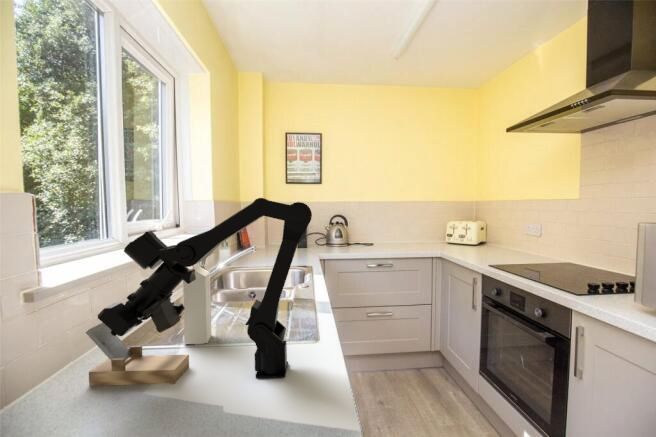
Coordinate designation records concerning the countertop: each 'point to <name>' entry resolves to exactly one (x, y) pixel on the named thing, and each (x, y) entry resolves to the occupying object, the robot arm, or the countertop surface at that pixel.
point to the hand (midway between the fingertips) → (113, 334)
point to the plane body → (139, 369)
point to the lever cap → (108, 342)
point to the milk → (197, 308)
